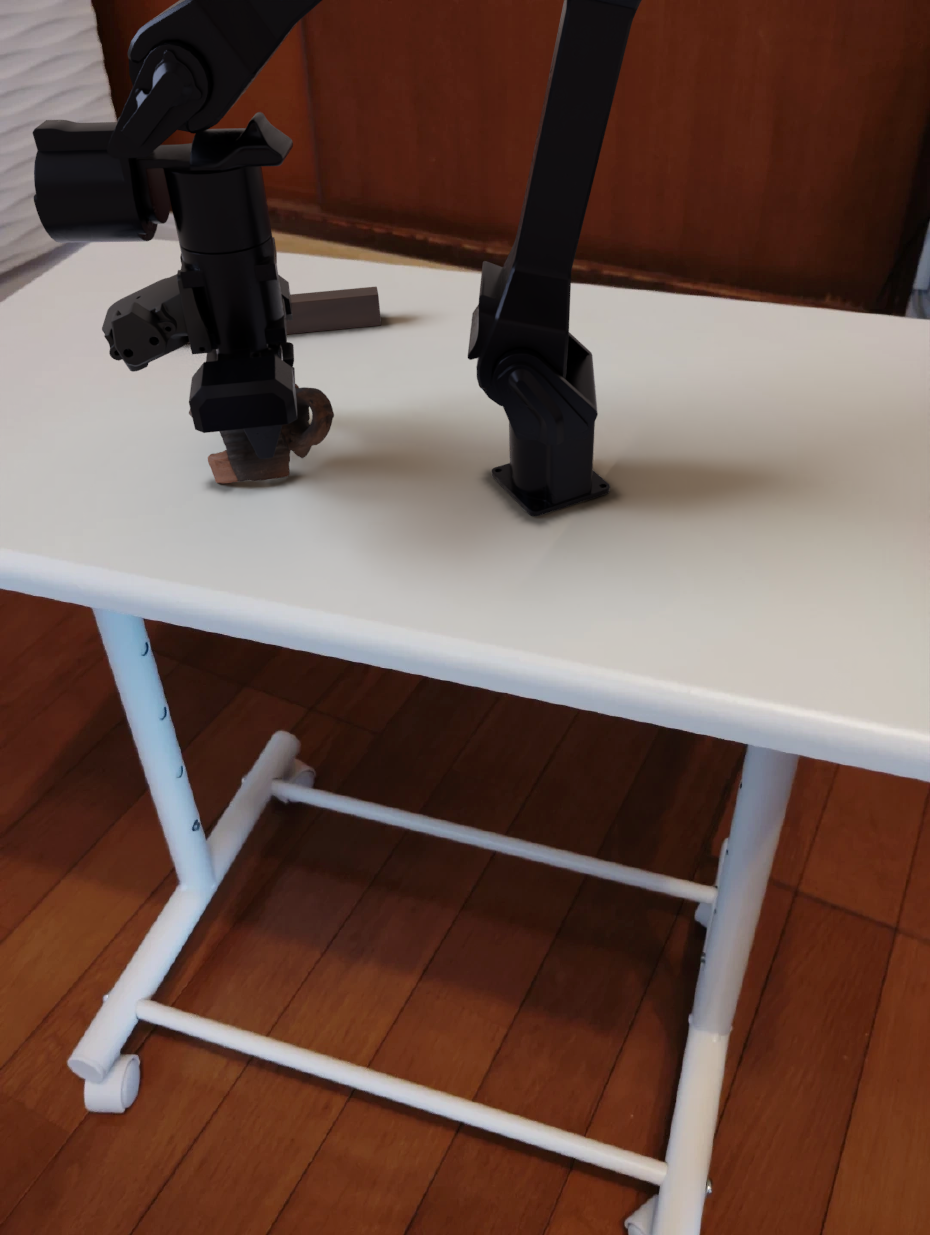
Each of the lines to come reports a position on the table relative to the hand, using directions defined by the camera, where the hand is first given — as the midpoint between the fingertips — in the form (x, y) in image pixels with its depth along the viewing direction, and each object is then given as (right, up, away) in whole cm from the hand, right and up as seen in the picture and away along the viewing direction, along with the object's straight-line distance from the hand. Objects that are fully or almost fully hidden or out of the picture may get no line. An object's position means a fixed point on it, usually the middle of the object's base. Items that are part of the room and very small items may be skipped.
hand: (266, 456), depth 73 cm
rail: (-4, +15, +22) cm, 27 cm away
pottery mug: (-1, +1, +5) cm, 6 cm away
